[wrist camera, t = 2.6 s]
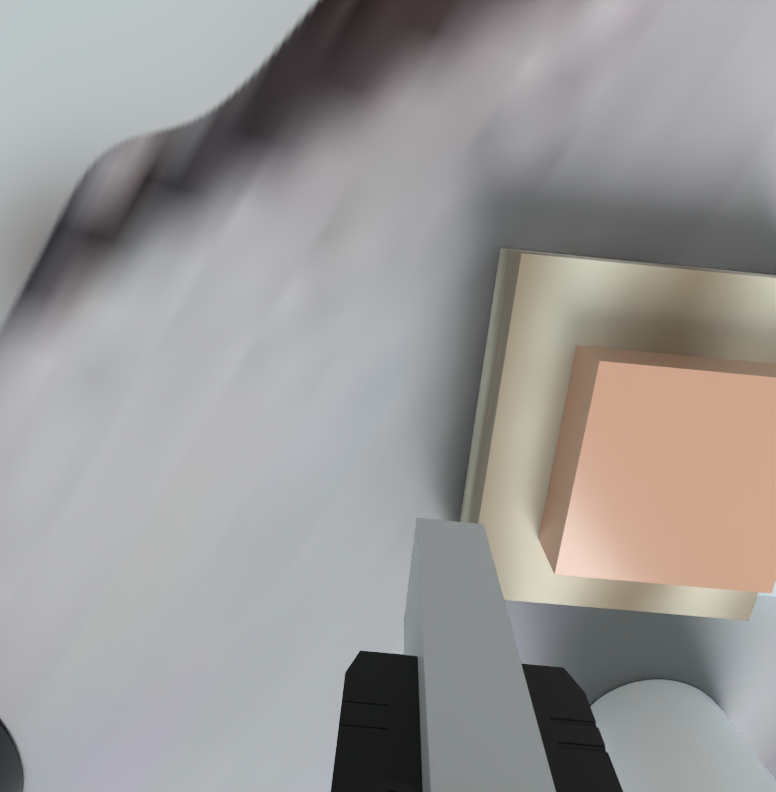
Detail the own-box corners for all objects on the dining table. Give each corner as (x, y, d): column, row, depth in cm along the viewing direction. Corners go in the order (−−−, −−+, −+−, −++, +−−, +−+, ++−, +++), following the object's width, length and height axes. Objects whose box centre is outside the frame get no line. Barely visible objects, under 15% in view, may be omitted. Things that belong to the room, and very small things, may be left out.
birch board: (456, 544, 27) (466, 596, 24) (500, 248, 23) (521, 253, 19) (699, 565, 28) (748, 620, 24) (786, 275, 23) (862, 286, 20)
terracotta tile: (538, 539, 23) (554, 574, 20) (576, 345, 20) (599, 360, 18) (733, 556, 23) (771, 593, 21) (793, 365, 20) (844, 383, 18)
